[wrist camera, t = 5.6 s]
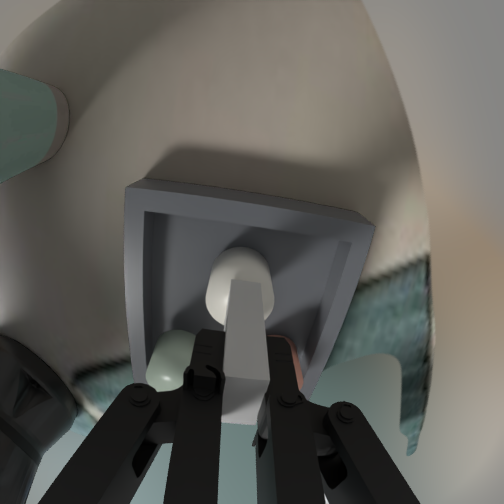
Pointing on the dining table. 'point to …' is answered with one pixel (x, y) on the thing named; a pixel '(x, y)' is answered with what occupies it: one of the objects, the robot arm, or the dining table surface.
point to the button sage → (170, 360)
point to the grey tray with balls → (229, 236)
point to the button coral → (296, 361)
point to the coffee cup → (29, 123)
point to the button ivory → (240, 268)
